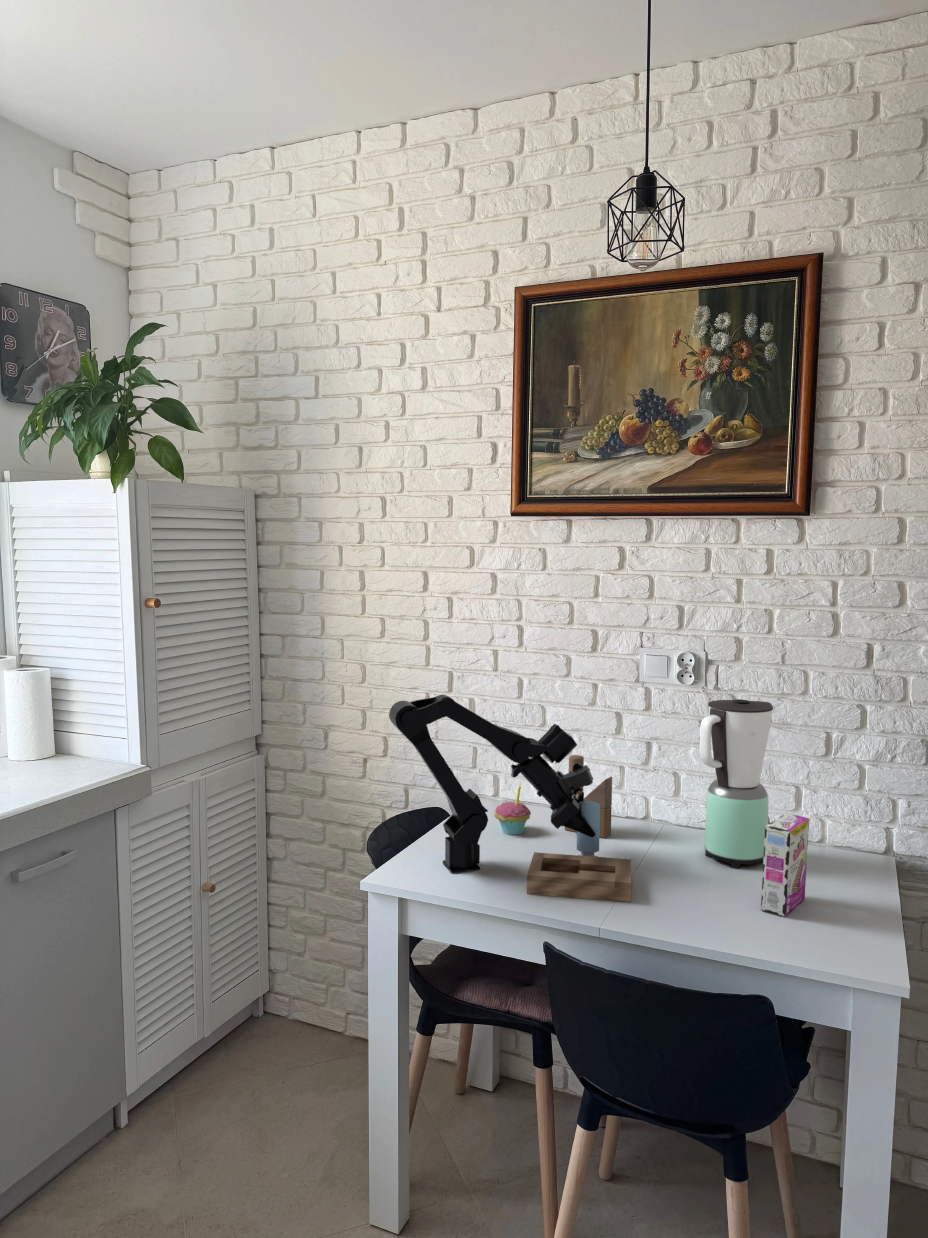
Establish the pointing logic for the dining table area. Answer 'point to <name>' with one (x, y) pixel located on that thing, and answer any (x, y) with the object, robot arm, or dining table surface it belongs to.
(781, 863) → the candy bar box
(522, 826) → the cupcake
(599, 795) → the wooden block
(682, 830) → the dining table surface
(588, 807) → the keyhole stud
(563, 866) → the keyhole board
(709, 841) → the mint green blender
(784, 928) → the dining table surface
